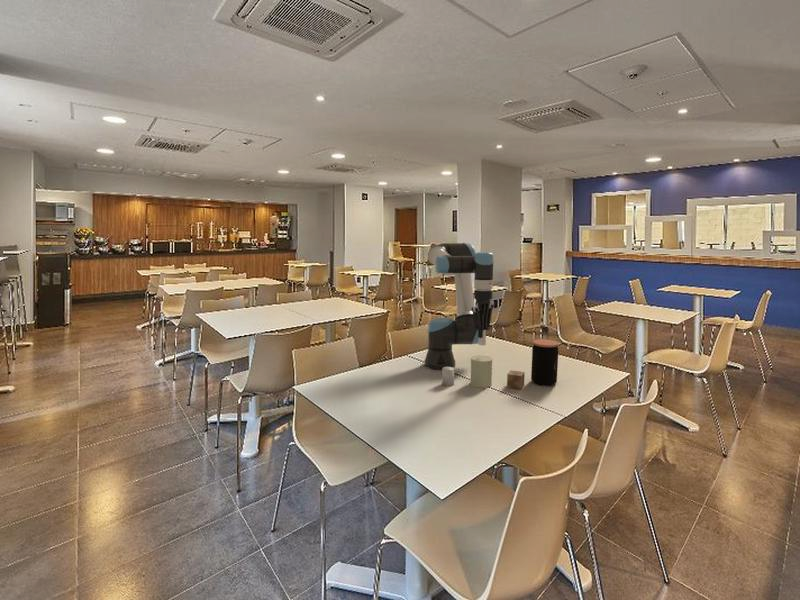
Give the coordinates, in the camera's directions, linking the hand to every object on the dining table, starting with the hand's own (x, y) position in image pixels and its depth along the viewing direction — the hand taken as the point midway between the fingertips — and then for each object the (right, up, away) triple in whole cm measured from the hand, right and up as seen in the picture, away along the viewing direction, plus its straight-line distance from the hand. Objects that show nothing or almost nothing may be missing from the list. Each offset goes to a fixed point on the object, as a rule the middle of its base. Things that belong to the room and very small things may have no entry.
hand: (481, 344), depth 183 cm
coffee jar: (+28, -17, +4) cm, 33 cm away
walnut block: (+14, -18, -1) cm, 23 cm away
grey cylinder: (-14, -17, +3) cm, 22 cm away
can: (0, -17, +3) cm, 18 cm away
